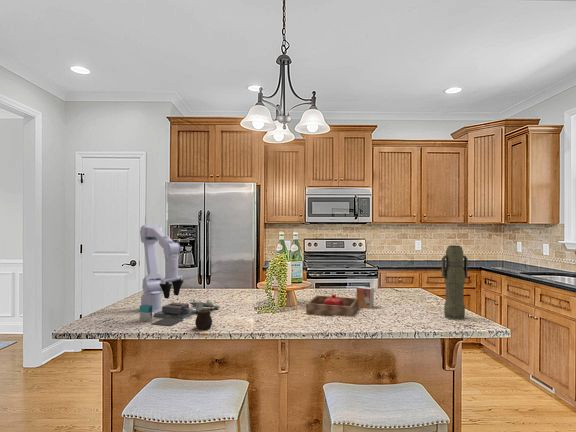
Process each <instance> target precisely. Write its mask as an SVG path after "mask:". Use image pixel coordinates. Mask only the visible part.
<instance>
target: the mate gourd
mask: <svg viewBox="0 0 576 432" xmlns="http://www.w3.org/2000/svg"><path fill="white" fill-rule="evenodd" d="M212 307H213V306H212ZM212 307H209V309H207V308H203V309H200V310H198V311H197V316H196V318H195V320H194V321H195V327H196V329H197V330H200V331H204V330H208V329H209V330H210V328H211V327H212V324H213V318H212V316H211V309H212Z"/></svg>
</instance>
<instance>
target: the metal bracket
mask: <svg viewBox="0 0 576 432" xmlns="http://www.w3.org/2000/svg"><path fill="white" fill-rule="evenodd" d="M188 304H189V305H190V307H191V308H195V309H197V311H198V310H200V309H204V308H211V307H212V306H213V307H212V308H214V309H219V308H221V305H214V304H213V302H212V301H211V300H209V299H206V302H202V301H201V300H199V301H198V300H195V299H193V300H192V301H191V302H188ZM212 308H211V309H212Z"/></svg>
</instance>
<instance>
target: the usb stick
mask: <svg viewBox="0 0 576 432" xmlns="http://www.w3.org/2000/svg"><path fill="white" fill-rule="evenodd" d="M139 321H141V322H142V321H144V322H153V312H152V305H144V304H143V305H141V304H140V305H139Z"/></svg>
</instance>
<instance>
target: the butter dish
mask: <svg viewBox="0 0 576 432" xmlns="http://www.w3.org/2000/svg"><path fill="white" fill-rule="evenodd" d="M330 296H331V297H330V298H327V299H325V300H324V305H337V306H344V304H343V301H342V300H341V299H339V298H336V297H337V295H336V294H334V293H332V294H331V295H330Z"/></svg>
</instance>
